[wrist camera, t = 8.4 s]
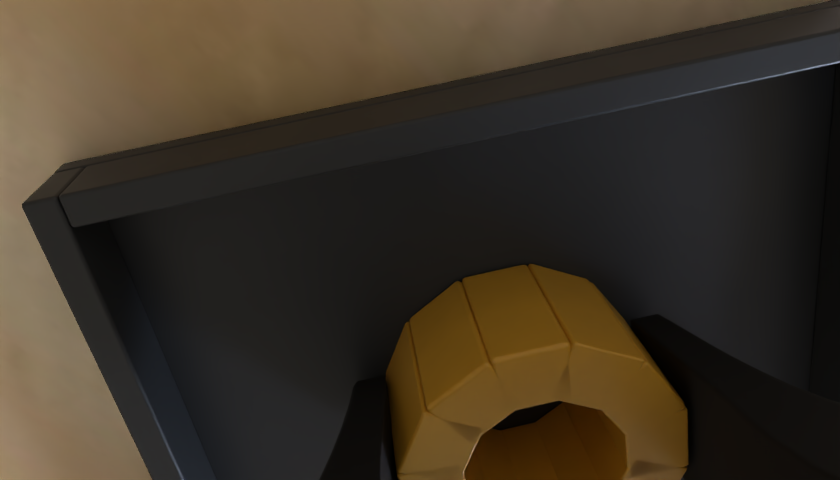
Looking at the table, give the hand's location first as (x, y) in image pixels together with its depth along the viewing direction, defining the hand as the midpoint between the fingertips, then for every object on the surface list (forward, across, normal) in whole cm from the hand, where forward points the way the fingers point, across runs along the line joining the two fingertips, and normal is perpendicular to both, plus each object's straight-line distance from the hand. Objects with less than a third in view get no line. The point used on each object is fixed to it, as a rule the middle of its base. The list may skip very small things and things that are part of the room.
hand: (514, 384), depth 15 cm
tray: (+1, 0, 0) cm, 1 cm away
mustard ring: (0, 0, 0) cm, 0 cm away
